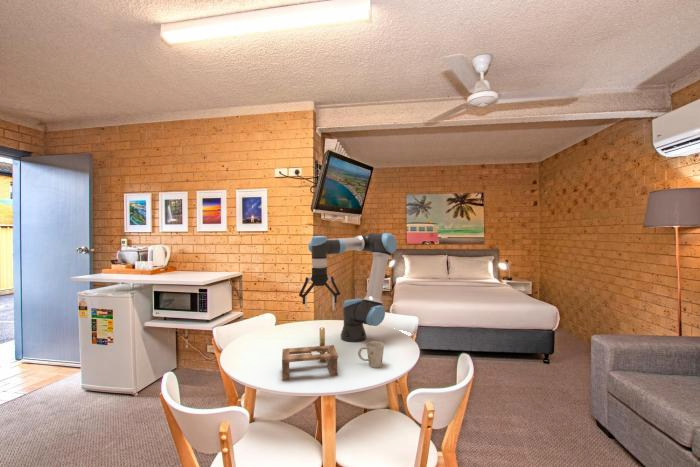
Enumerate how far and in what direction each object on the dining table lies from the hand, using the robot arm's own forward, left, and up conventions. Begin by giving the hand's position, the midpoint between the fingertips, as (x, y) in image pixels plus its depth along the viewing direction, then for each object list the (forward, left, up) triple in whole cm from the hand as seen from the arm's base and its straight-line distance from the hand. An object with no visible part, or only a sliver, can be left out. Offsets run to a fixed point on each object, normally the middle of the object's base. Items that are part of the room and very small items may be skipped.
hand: (319, 310), depth 160 cm
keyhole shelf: (+6, +13, -25) cm, 28 cm away
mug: (-23, +11, -25) cm, 36 cm away
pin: (-1, +1, -25) cm, 25 cm away
